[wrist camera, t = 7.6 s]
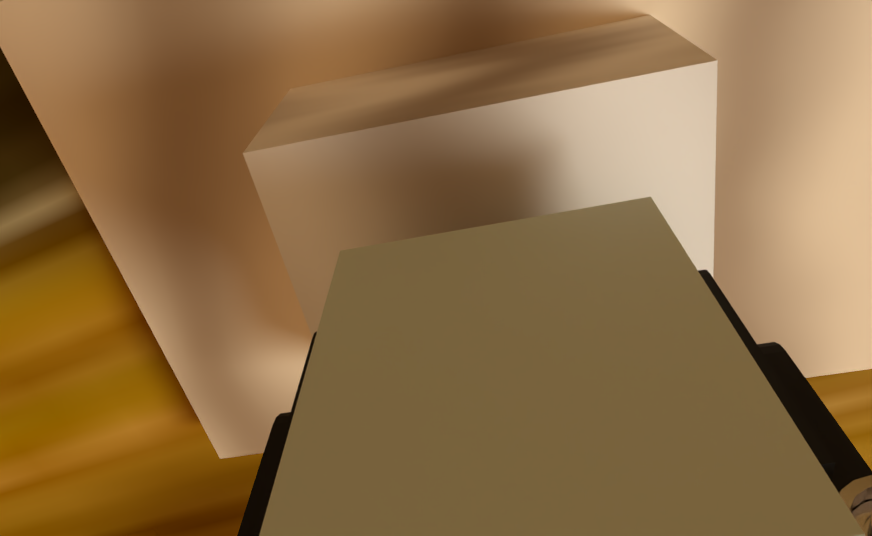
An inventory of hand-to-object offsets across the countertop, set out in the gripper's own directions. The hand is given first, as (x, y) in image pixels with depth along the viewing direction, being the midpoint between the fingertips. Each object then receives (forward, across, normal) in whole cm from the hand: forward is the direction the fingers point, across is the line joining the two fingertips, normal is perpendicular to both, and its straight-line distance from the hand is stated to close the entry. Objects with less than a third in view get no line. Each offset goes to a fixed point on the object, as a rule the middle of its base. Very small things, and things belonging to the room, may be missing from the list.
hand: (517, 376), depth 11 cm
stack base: (+8, 0, 0) cm, 8 cm away
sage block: (+1, 0, 0) cm, 1 cm away
